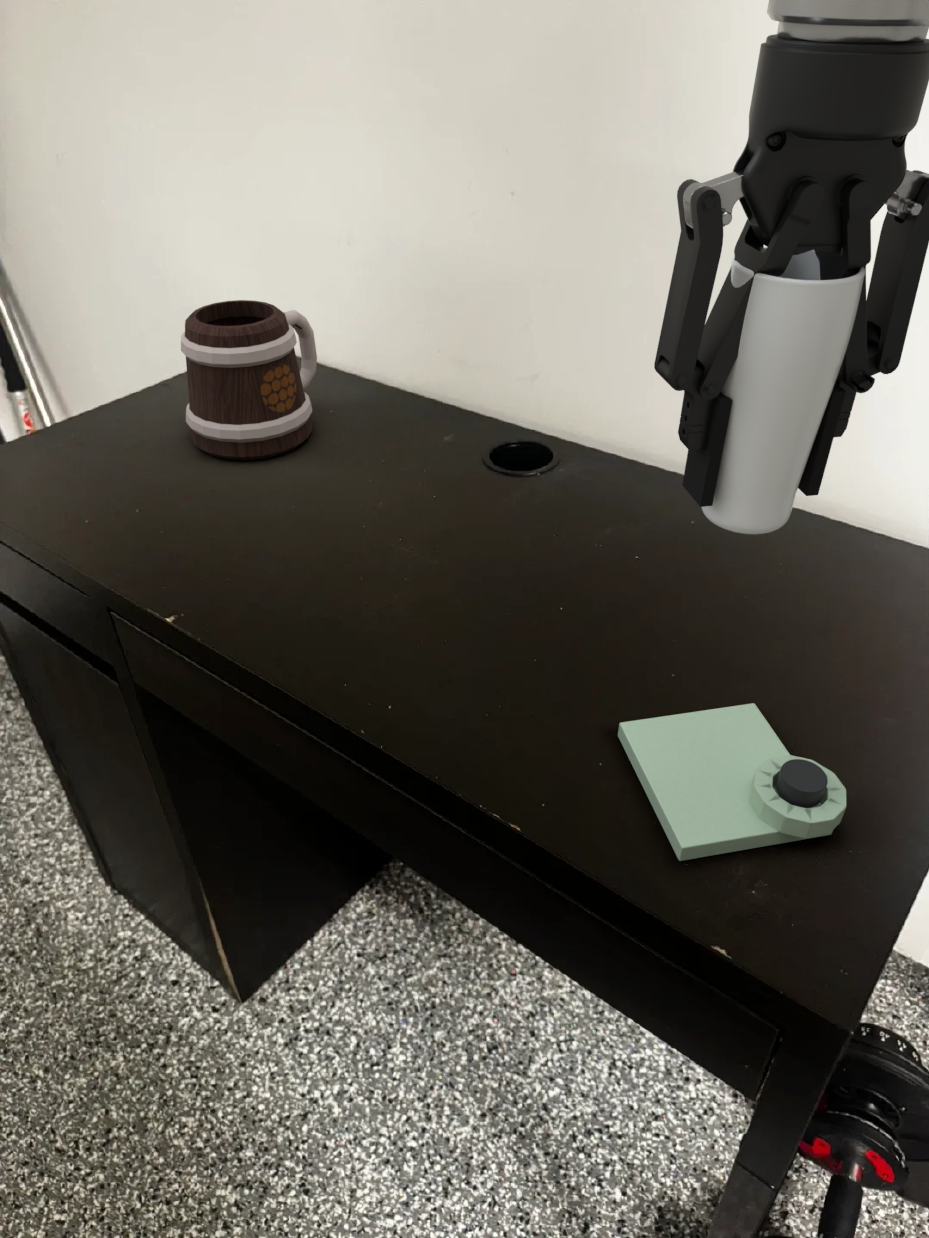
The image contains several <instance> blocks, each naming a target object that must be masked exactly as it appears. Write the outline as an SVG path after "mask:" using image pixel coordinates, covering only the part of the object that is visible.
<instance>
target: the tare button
mask: <svg viewBox="0 0 929 1238" xmlns="http://www.w3.org/2000/svg"><path fill="white" fill-rule="evenodd" d="M827 783H828V779H827V776H826V774H825V772H824V771H823V770H822V769H821V768H820V767H819V766H818V765H816V764H814V763H812V762H810V761H807V760H802V759H793V760H789V761H787V762H785V763H784V764H783V765H782V767H781V769H780V773H779V776H778V779H777V782H776V789H777V792H778V794H779V795H780V797H781V798H782V799H783V800H785V801H786V802H788V803H789V804H791V805H794V806H798V807H803V808H810V807H814V806H816V805H818V804H819V803H820V802H821V800H822V798H823V795H824V792H825V789H826V786H827Z"/></svg>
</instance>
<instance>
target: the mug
mask: <svg viewBox="0 0 929 1238" xmlns="http://www.w3.org/2000/svg"><path fill="white" fill-rule="evenodd" d="M295 332H296V333H295ZM296 334H297V335H298V342H297V336H296ZM297 343H299V349H300V350H299V351H300V356H301V361H300V362H301V363H300V368H299V364H298V360H297V354H296V350H295V346H296V344H297ZM180 351H181V353H183V355H184V356H185V366H186V377H187V379H186V380H187V390H188V403H187V404H186V409H185V422H186V424H187V426H189V430H190V431H189V432H190V440H191V441H192V442H193V444H194V446H196V448H198V449H200V450H201V451H203V452H204V453H206V454H208V455H211V456H213V457H217V458H221V459H225V460H235V461H236V460H237V461H252V460H260V459H261V460H262V459H267V458H271V457H276V456H280V455H283V454H285V453H287V452H290V451H292V450H295V449H296V448H297V447H299V446H300V445H301V444H303V443H304V442H305V441H306V440H307V439H308V438H309V436H310V434H311V433H312V431H313V424H312V418H311V415H312V413H313V407H312V402H311V398H310V396H309V395H308V394H307V393H306V392H305V389H307V388H308V387H309V385H310V383H311V381H312V380H313V378H314V376H315V374H316V373H317V363H318V355H317V346H316V340H315V333H314V330H313V328H312V326H311V324H310V322H309V321H308V318H307V317H306V316H304V315H303V314H302V313H300V312H299V311H297V310H295V309H291V310H287V311H283V310H282V309H280V308H278V307H277V306H276V305H274V304H271V303H268V302H265V301H260V300H259V301H258V300H250V299H249V300H247V299H235V300H225V301H219V302H213V303H211V304H207V305H202V306H201V307H198V308H197V309H195V310H193V312H192V313H190V315H189V316H188V317H187V318H186V319H185V321H184V331H183V332H182V334H181V336H180Z"/></svg>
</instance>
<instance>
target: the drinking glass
mask: <svg viewBox="0 0 929 1238" xmlns="http://www.w3.org/2000/svg"><path fill="white" fill-rule="evenodd" d="M764 249H765V250H766V249H767V246H764ZM734 259H735V255H734V256H733V258H732V259H731V264H730V268H731V282H732V285H733V286H734V287H735V288H738V287H741V286H742V285H744V284H745V283H746V282H747V281H749V280H750V279H751V278H752V277H753V276H754V279H753V284H752V288H751V292H750V296H749V300H748V304H747V309H746V313H745V318H744V323H743V328H742V333H741V339H740V345H739V351H738V357H737V359H736V361H735V363H734V365H733V367H732V369H731V371H730V373H729V375H728V377H727V380H726V382H725V384H724V386H723V388H722V390H721V393H722V394H724V395H725V396H727V397H729V398H731V399H732V400H733V402H732V407H731V412H730V417H729V422H728V427H727V433H726V438H725V443H724V448H723V453H722V458H721V463H720V469H719V474H718V479H717V484H716V489H715V494H714V499H713V505H712V506H705V507H700V508H701V511H702V513H703V515H704V516H705V517H706V519H707V520H708V521H710V522H711V523H712V524H714V525H715V526H717V527H719V528H721V529H723V530H725V531H729V532H732V533H737V534H742V535H763V534H769V533H773V532H776V531H777V530H779V529H781V528H783V527H784V526H785V525H786V524H787V523H788V521H789V520H790V517H791V514H792V511H793V508H794V504H795V499H796V496H797V492H798V490H799V488H798V486H799V483H800V480H801V478H802V475H803V472H804V469H805V466H806V463H807V460H808V457H809V455H810V452H811V449H812V446H813V443H814V440H815V438H816V435H817V432H818V429H819V426H820V424H821V421H822V418H823V415H824V413H825V410H826V407H827V404H828V401H829V399H830V396H831V393H832V390H833V388H834V385H835V382H836V379H837V376H838V374H839V371H840V368H841V365H842V362H843V359H844V356H845V353H846V350H847V347H848V343H849V340H850V336H851V333H852V329H853V325H854V322H855V318H856V313H857V309H858V305H859V300H860V296H861V291H862V286H863V281H864V277H865V268H864V267H861V268H860V269H859V272H858V274H856V275H854V276H851V277H847V278H842V279H834V280H820V264H819V260H818V258H817V256H816V254H815V251H814V250H811V251H808V252H805V253H802V254H799V255H793V256H792V258H791V260H790V262H789V264H788V266H787V268H786V270H785V272H784V273H783V274H782V275H780V276H778V277H776V276H771V275H766V274H762V273H757V274H755V275H754V272H753V271H752V270H750V269H748V268H746V267H744V266H742V265H741V264H740V263H739V262H737V261H735V260H734Z"/></svg>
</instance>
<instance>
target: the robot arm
mask: <svg viewBox="0 0 929 1238" xmlns="http://www.w3.org/2000/svg"><path fill="white" fill-rule="evenodd" d="M766 14H767V16H768V17H769V19H770V20H772V21H774V22H778V27H777V31H776V33H775V34H770V35H768V36H767V37H766V39H765V42H762V43H761V44H760V48H759V54H758V60H757V64H756V65H757V66H756V71H755V77H754V82H753V83H754V84H753V89H752V94H751V95H752V96H751V101H750V107H749V113H748V136H747V141H746V144H745V146H744V148H743V150H742V152H741V154H740V156H739V158H738V159H737V160H736V162H735V163H734V166H733V169H732V171H731V172H728V173H726V174H723V175H721V176H719V177H718V176H717V177H715V178H713V179H710V180H707V181H704V182H700V181H698V180H696V179H692V178H690V179H689V178H688V179H686V180H685V181H682V182H681V184H680V185H679V186H678V188H677V191H676V199H677V207H678V218H679V225H680V235H679V239H678V244H677V249H676V255H675V260H674V263H673V270H672V274H671V279H670V285H669V290H668V294H667V299H666V305H665V310H664V314H663V318H662V323H661V329H660V334H659V338H658V344H657V349H656V353H655V360H654V363H653V364H654V365H653V366H654V370H655V372H656V373H657V374H658V375H659V376H660V377H661V378H662V379H663V380H664V381H665V383H667V384H668V385H669V386H670V387H671V388H672V389H673V390H674V391H677V392H681V391H683V398H682V405H681V410H680V417H679V423H678V429H677V435H678V438H679V441H680V442H681V443H682V444H683V446H685V448H686V449H687V455H686V461H685V466H684V472H683V479H682V484H681V485H682V487H683V488H684V489H685V490H686V492H687V493H688V494H689V495H690V496H691V498H692V499H693V500H694V501H695V502H696V504H697V505H698V506H699V507H700V508H701V507H705V506H712V505H713V499H714V494H715V489H716V484H717V479H718V474H719V469H720V463H721V458H722V453H723V448H724V443H725V438H726V433H727V427H728V422H729V417H730V412H731V407H732V402H733V400H732V399H731V398H729V397H727V396H725V395H724V394H722V393H721V390H722V388H723V386H724V384H725V382H726V380H727V377H728V375H729V373H730V371H731V369H732V367H733V365H734V363H735V361H736V359H737V357H738V351H739V345H740V339H741V333H742V328H743V323H744V318H745V313H746V309H747V304H748V300H749V296H750V292H751V288H752V284H753V279H754V276H753V277H752V278H751V279H750V280H749V281H747V282H746V283H745V284H744V285H742V286H741V287H738V288H735V287H734V286H733V285H732V282H731V267H730V269H729V271H728V273H727V275H726V277H725V280H724V282H723V284H722V286H721V289H720V291H719V293H718V295H717V297H716V298H715V299H716V300H715V301H714V304H713V306H712V308H711V310H710V313H709V307H710V304H711V299H712V295H713V290H714V286H715V282H716V277H717V273H718V269H719V264H720V260H721V256H722V250H723V245H724V227H725V226H728V225H730V223H731V222H732V220H733V215H732V214H733V209H734V206H735V204H736V203H737V202H738V201H739V203H740V205H741V207H742V210H743V212H744V214H745V216H746V218H747V219H746V221H745V224H744V226H743V227H742V230H741V232H740V235H739V237H738V239H737V242H736V244H735V246H734V249H733V255H734V256H735V259H734V260H735V261H737V262H739V263H740V264H741V265H742V266H744V267H746V268H748V269H750V270H752V271H753V272H754V275H755V274H757V273H762V274H766V275H771V276H776V277H778V276H780V275H782V274H783V273H784V272H785V270H786V268H787V266H788V264H789V262H790V260H791V258H792V256H793V255H799V254H802V253H805V252H808V251H811V250H814V251H815V254H816V256H817V258H818V260H819V264H820V280H834V279H842V278H847V277H851V276H854V275H856V274H858V272H859V269H860V268H861V267H864V268H865V277H864V281H863V286H862V291H861V296H860V300H859V305H858V309H857V313H856V318H855V322H854V325H853V329H852V333H851V336H850V340H849V343H848V347H847V350H846V353H845V356H844V359H843V362H842V365H841V368H840V371H839V374H838V376H837V379H836V382H835V385H834V388H833V390H832V393H831V396H830V399H829V401H828V404H827V407H826V410H825V413H824V415H823V418H822V421H821V424H820V426H819V429H818V432H817V435H816V438H815V440H814V443H813V446H812V449H811V452H810V455H809V457H808V460H807V463H806V466H805V469H804V472H803V475H802V478H801V480H800V483H799V486H798V490H799V491H800V492H802V493H803V495H804V496H806V497H812V496H818V495H819V493H820V490H821V486H822V482H823V479H824V474H825V471H826V467H827V463H828V460H829V456H830V452H831V448H832V445H833V442H834V438H842V436H843V435H844V433H845V432H846V430H847V429H848V425H849V421H850V418H851V414H852V413H851V412H852V410H853V407H854V403H855V400H856V396H857V393H858V394H864V393H866V392H869V391H870V390H871V389H872V388H873V387H874V384H875V381H876V379H875V377H873V376H875V375H877V374H879V373H881V374H883V375H890V374H892V373H893V372H895V371H896V370H897V368H898V367H899V366H900V363H901V359H902V356H903V355H902V354H903V352H904V351H903V350H904V347H905V343H906V338H907V334H908V330H909V326H910V322H911V317H912V314H913V309H914V306H915V301H916V298H917V293H918V289H919V284H920V280H921V276H922V272H923V268H924V264H925V259H926V255H927V252H928V247H929V173H928V172H924V171H922V170H918V169H915V170H914V169H913V170H908V164H907V163H908V162H907V158H906V157H907V156H906V148H905V147H906V140H907V137H908V134H909V133H910V132H911V131H913V130H914V129H915V127H916V126H917V124H918V122H919V119H920V115H921V111H922V108H923V104H924V100H925V96H926V92H927V88H928V86H929V38H927V36H928V32H929V0H768V4H767V10H766ZM883 206H886V213H885V216H884V219H883V221H882V226H881V230H880V234H879V237H878V243H877V248H876V252H875V257H874V261H873V267H872V271H871V276H870V280H869V285H868V291H867V265H868V264H869V263H871V261H872V236H871V235H872V223H871V221H872V220H873V218H874V217H875V216H876V215H877V214H878V213H879V211H880V210H881V209H882V208H883ZM764 247H767V249H766V250H765V249H764ZM708 313H709V315H708ZM707 315H708V317H707Z"/></svg>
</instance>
